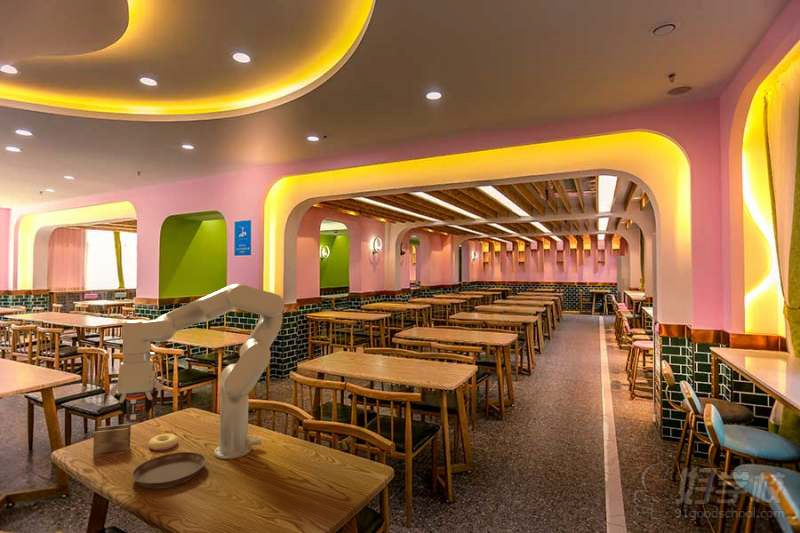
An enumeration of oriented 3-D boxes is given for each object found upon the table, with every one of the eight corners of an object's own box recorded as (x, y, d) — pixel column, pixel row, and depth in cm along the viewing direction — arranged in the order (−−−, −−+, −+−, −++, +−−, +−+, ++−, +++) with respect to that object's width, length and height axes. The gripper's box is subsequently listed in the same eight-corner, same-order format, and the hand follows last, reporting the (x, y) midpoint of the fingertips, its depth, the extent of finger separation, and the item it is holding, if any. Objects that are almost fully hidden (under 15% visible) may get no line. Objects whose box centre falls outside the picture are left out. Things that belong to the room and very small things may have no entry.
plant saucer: (116, 483, 127) (116, 473, 127) (176, 456, 146) (176, 446, 146) (162, 500, 119) (162, 488, 119) (219, 468, 138) (219, 458, 138)
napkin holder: (130, 447, 151) (130, 423, 152) (127, 452, 147) (127, 428, 147) (97, 451, 148) (98, 427, 148) (93, 457, 143) (93, 432, 143)
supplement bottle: (136, 424, 132) (136, 388, 132) (121, 422, 133) (121, 387, 133) (151, 417, 138) (151, 383, 138) (137, 415, 139) (136, 382, 139)
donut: (153, 459, 147) (181, 448, 153) (151, 448, 146) (180, 437, 152) (146, 446, 154) (173, 436, 160) (145, 435, 153) (172, 425, 160)
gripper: (168, 353, 142) (168, 405, 142) (108, 357, 136) (109, 411, 136) (164, 357, 135) (164, 412, 135) (101, 362, 129) (102, 420, 129)
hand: (137, 411), depth 135 cm, fingers closed on supplement bottle, 6 cm apart
